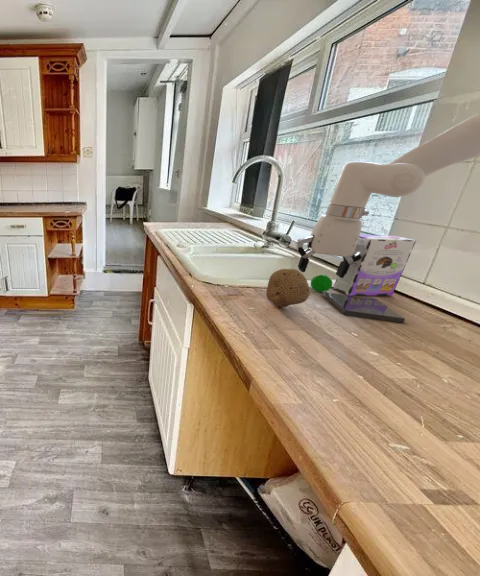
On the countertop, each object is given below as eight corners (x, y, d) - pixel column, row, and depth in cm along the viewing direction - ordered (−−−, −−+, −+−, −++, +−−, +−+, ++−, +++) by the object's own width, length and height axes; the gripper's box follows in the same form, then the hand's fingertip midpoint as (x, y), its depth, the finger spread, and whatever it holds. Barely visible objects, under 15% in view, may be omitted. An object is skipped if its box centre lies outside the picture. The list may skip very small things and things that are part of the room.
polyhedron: (306, 286, 92) (311, 271, 90) (326, 289, 90) (331, 274, 88) (310, 292, 87) (316, 276, 85) (331, 295, 86) (336, 279, 84)
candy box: (374, 288, 93) (396, 235, 87) (392, 296, 87) (418, 239, 81) (332, 288, 92) (351, 233, 85) (348, 295, 86) (370, 238, 80)
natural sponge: (307, 309, 76) (320, 271, 72) (296, 319, 71) (309, 278, 67) (269, 297, 82) (279, 261, 79) (256, 305, 77) (266, 267, 73)
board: (374, 302, 82) (376, 298, 82) (403, 323, 71) (405, 318, 71) (324, 296, 85) (325, 292, 84) (344, 314, 74) (346, 310, 74)
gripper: (374, 214, 82) (348, 274, 88) (302, 207, 85) (283, 264, 92) (390, 218, 75) (361, 283, 82) (312, 210, 79) (290, 272, 85)
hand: (320, 273), depth 87 cm, fingers open, 9 cm apart
